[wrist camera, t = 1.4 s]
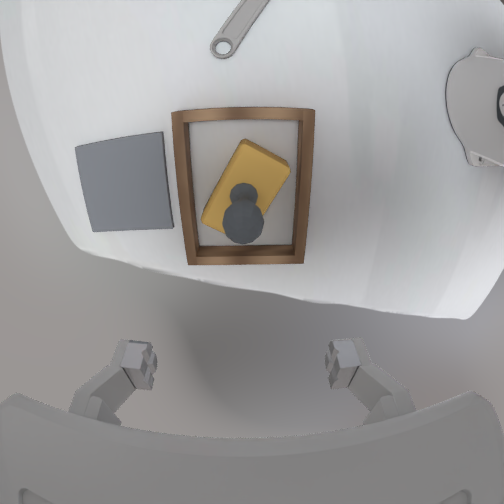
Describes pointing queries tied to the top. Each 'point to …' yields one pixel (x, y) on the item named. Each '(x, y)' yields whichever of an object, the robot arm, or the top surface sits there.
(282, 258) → the wooden frame
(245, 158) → the rubber stamp
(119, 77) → the top surface
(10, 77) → the top surface
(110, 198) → the slate mat
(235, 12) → the adjustable wrench
